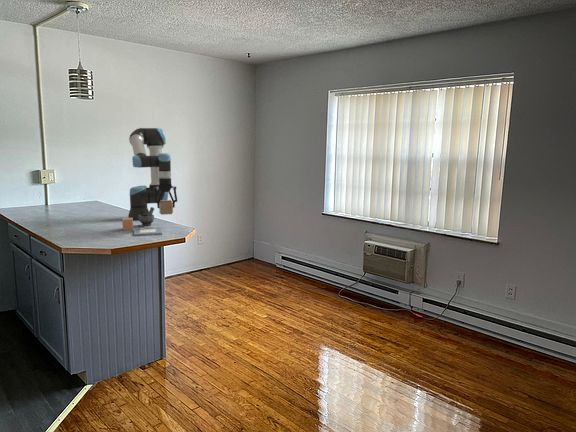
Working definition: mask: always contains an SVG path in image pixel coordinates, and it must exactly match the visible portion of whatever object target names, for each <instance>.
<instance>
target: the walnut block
mask: <svg viewBox="0 0 576 432" xmlns="http://www.w3.org/2000/svg"><path fill="white" fill-rule="evenodd" d="M160 204H161V213H160V215H173V213H172V199H168V200H161V201H160Z"/></svg>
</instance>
